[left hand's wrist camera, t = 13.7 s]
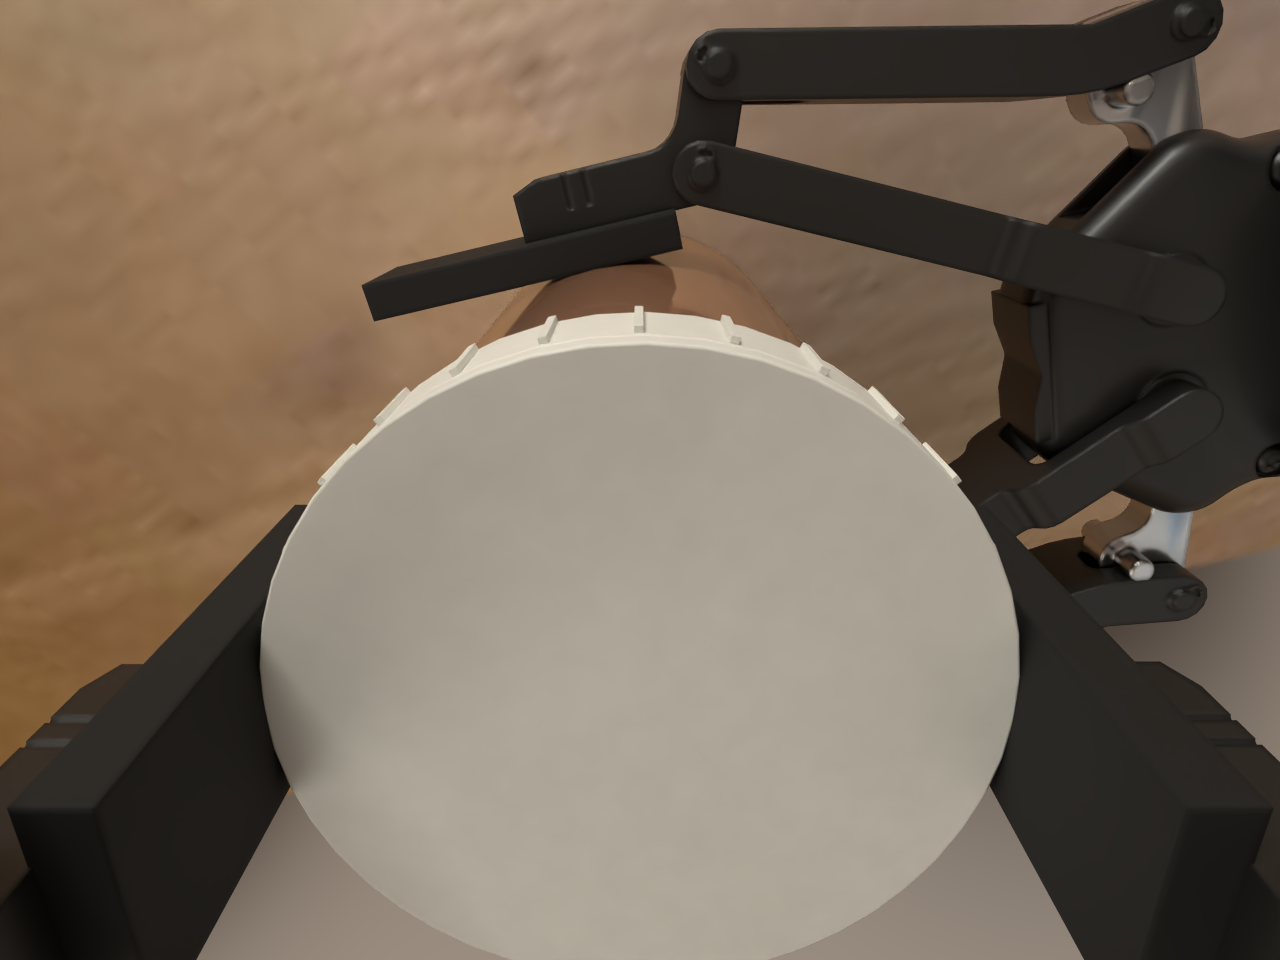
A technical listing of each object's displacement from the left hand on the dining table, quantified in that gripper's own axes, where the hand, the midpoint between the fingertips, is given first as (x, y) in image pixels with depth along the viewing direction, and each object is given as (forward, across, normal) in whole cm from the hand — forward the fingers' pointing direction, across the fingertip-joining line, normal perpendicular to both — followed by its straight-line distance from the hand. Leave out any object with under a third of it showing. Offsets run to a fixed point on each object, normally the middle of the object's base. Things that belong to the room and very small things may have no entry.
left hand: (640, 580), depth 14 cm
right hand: (+6, -4, -1) cm, 8 cm away
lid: (-3, 0, 0) cm, 3 cm away
